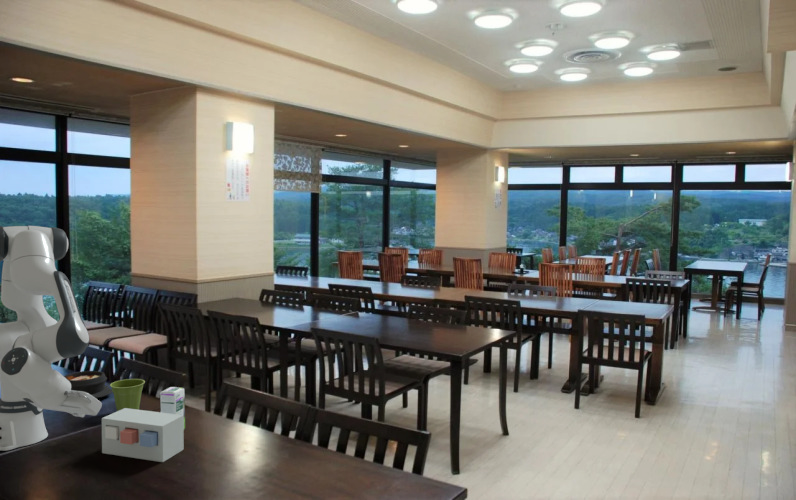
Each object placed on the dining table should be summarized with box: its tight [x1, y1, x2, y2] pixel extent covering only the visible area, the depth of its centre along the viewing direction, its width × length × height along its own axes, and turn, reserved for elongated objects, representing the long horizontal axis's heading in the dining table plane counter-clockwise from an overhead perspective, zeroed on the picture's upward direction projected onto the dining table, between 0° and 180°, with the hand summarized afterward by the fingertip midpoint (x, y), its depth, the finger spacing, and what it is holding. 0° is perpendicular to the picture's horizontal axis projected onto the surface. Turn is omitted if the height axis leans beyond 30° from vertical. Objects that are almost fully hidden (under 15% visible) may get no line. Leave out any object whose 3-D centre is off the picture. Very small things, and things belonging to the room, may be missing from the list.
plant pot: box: [109, 378, 146, 412], centre depth 216 cm, size 12×12×11 cm
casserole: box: [63, 370, 113, 399], centre depth 235 cm, size 25×19×8 cm
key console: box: [101, 408, 185, 463], centre depth 182 cm, size 22×10×11 cm, turn 75°
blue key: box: [140, 431, 158, 447], centre depth 174 cm, size 4×3×4 cm
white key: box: [105, 425, 119, 440], centre depth 179 cm, size 4×3×4 cm
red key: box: [120, 428, 139, 445], centre depth 176 cm, size 4×3×4 cm
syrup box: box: [159, 386, 186, 430], centre depth 199 cm, size 6×6×14 cm
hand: (81, 414), depth 166 cm, fingers closed
